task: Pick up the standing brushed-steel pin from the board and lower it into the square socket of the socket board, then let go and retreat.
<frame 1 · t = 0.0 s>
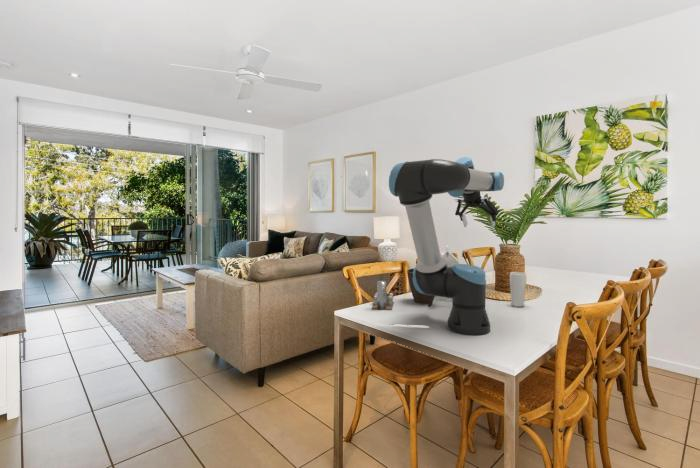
hand: (479, 225, 179), 36 cm above the table, tool tilted 35°, fingers open, 13 cm apart
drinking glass: (517, 306, 167), on the table
milk: (447, 298, 184), on the table
socket board: (383, 308, 166), on the table
pin: (381, 308, 160), point 1 cm above the table, touching socket board
plant pot: (423, 304, 171), on the table
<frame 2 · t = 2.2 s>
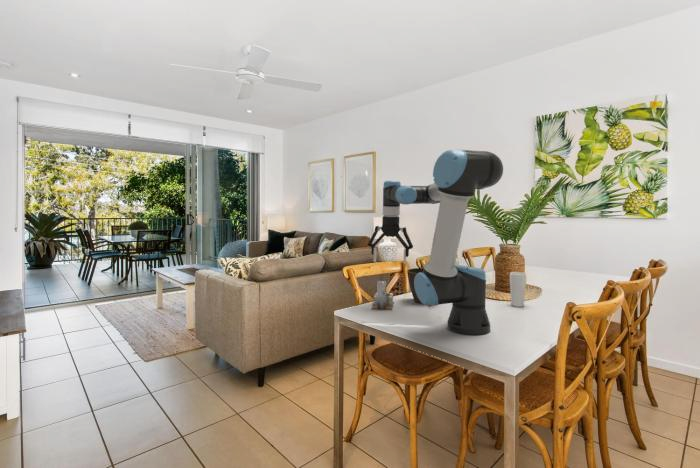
hand: (389, 262, 166), 20 cm above the table, tool pointing down, fingers open, 13 cm apart
nothing on the table moved.
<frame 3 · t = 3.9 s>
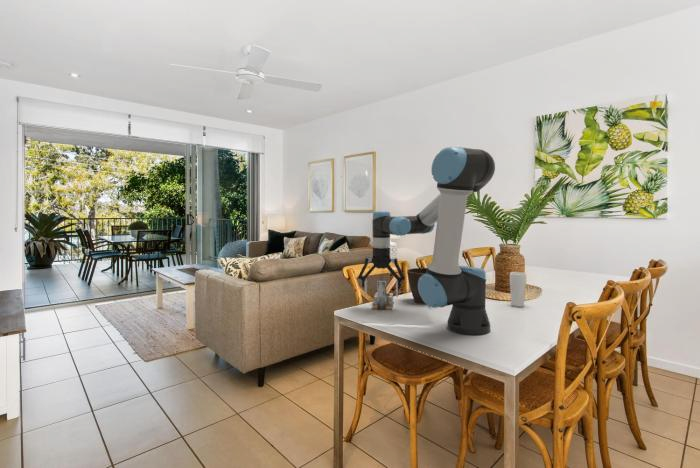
hand: (381, 295, 160), 7 cm above the table, tool pointing down, fingers open, 13 cm apart
nothing on the table moved.
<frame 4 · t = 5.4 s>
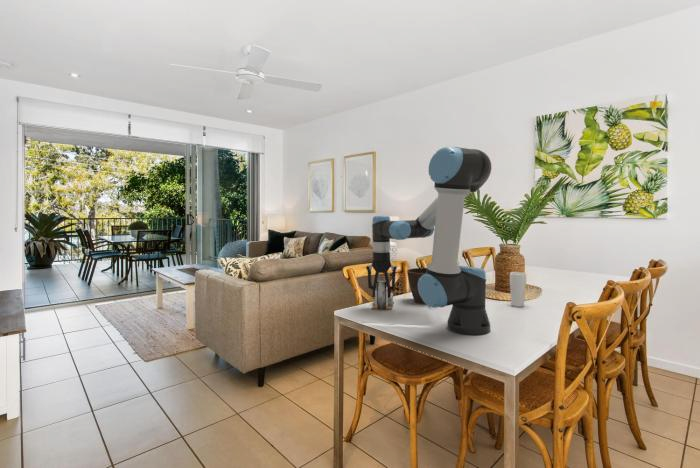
hand: (381, 304, 160), 3 cm above the table, tool pointing down, fingers closed on pin, 4 cm apart
pin: (381, 308, 160), point 1 cm above the table, touching gripper, socket board
everything else where it was.
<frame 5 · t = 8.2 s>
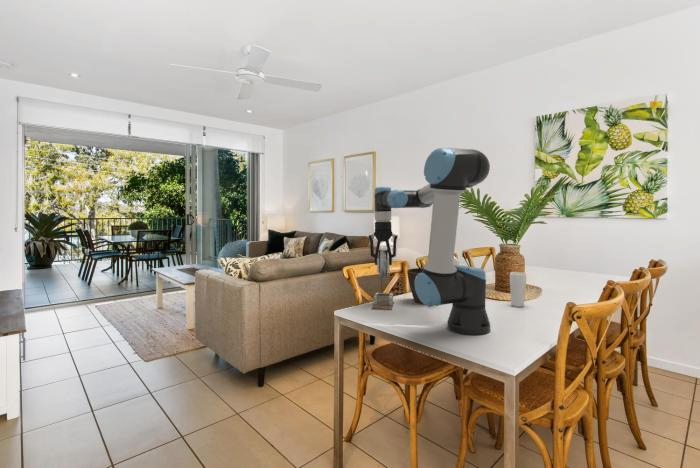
hand: (383, 272, 168), 16 cm above the table, tool pointing down, fingers closed on pin, 4 cm apart
pin: (383, 275, 168), point 14 cm above the table, touching gripper
everything else where it was.
when the fingers open (6 cm above the table, at t = 11.0 s): pin drops 3 cm, resting on socket board.
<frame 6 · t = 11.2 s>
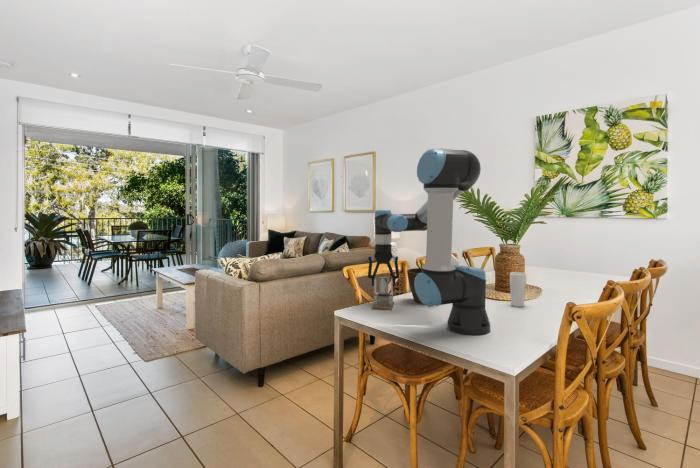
hand: (383, 293, 169), 6 cm above the table, tool pointing down, fingers open, 7 cm apart
pin: (384, 303, 169), point 1 cm above the table, touching socket board
everything else where it was.
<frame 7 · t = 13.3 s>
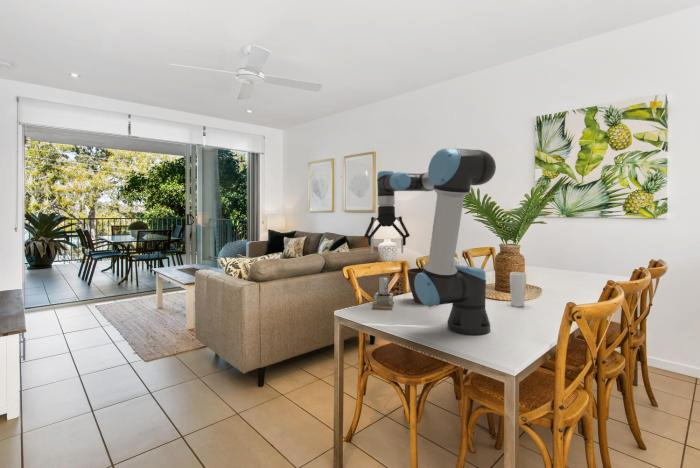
hand: (387, 253, 166), 25 cm above the table, tool pointing down, fingers open, 13 cm apart
nothing on the table moved.
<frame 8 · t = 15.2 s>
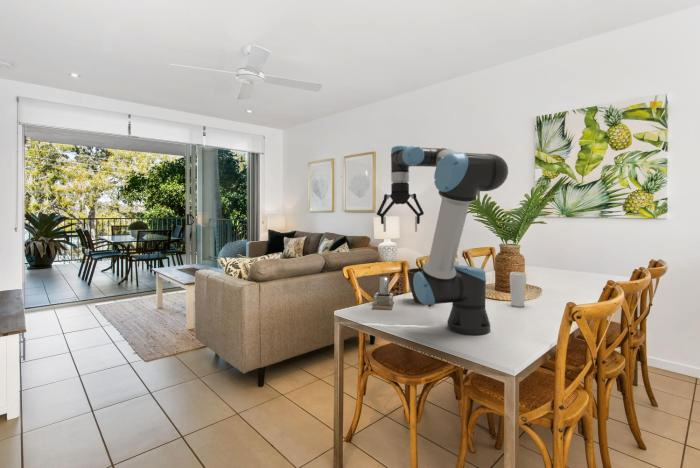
hand: (400, 231, 160), 35 cm above the table, tool pointing down, fingers open, 13 cm apart
nothing on the table moved.
at the end: pin 0.2 cm from the target spot on the socket board, point 1.3 cm above the socket board's base; pin tilted 2°; the gripper is holding nothing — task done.
